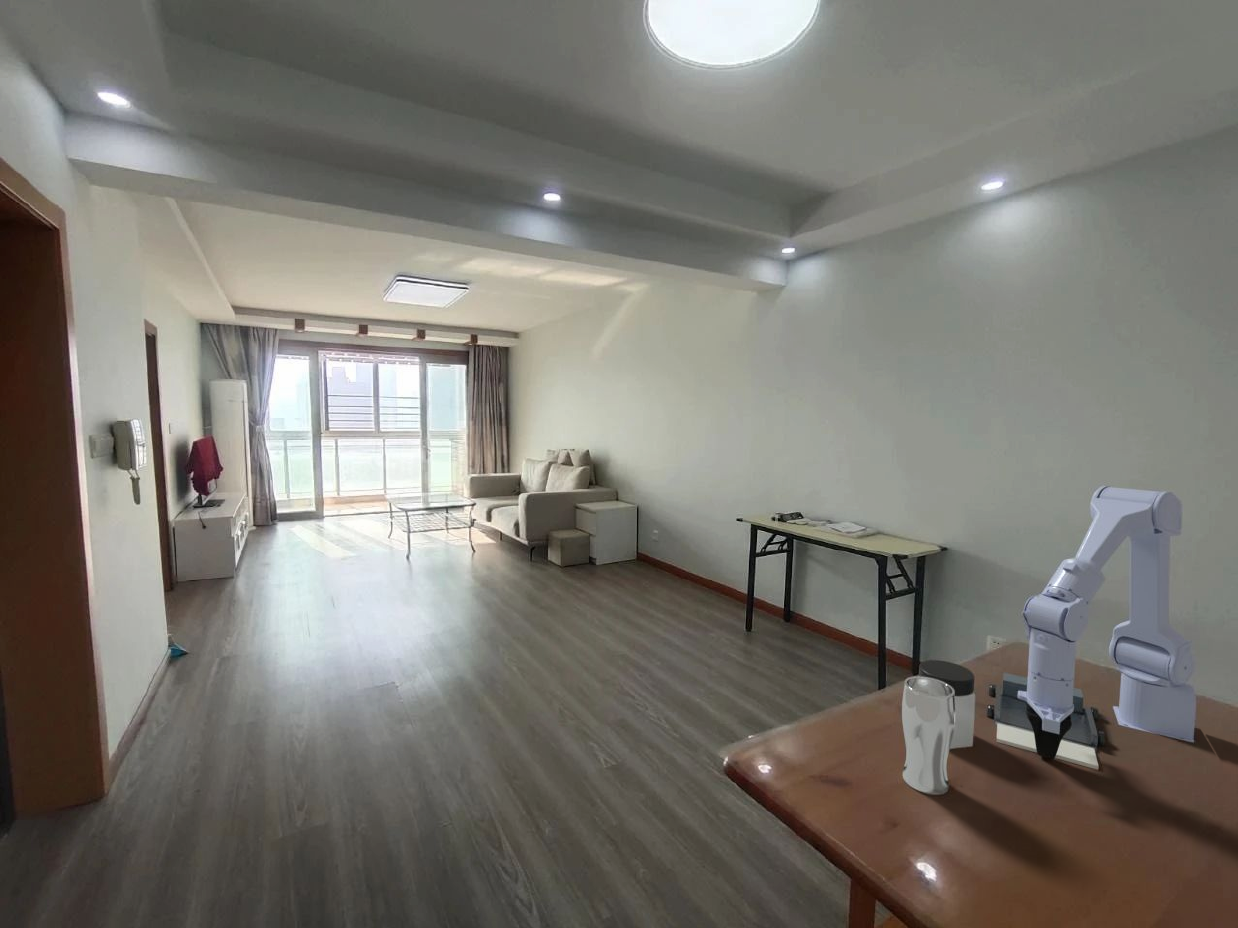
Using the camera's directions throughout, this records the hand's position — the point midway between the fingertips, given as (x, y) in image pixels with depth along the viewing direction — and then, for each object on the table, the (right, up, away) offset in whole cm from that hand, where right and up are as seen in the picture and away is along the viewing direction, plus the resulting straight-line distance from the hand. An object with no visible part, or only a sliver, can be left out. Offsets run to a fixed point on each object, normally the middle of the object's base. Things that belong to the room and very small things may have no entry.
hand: (1045, 754), depth 88 cm
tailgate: (+4, 0, +6) cm, 7 cm away
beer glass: (-22, -2, -5) cm, 22 cm away
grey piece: (+9, 0, +13) cm, 16 cm away
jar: (-12, -1, +7) cm, 14 cm away
